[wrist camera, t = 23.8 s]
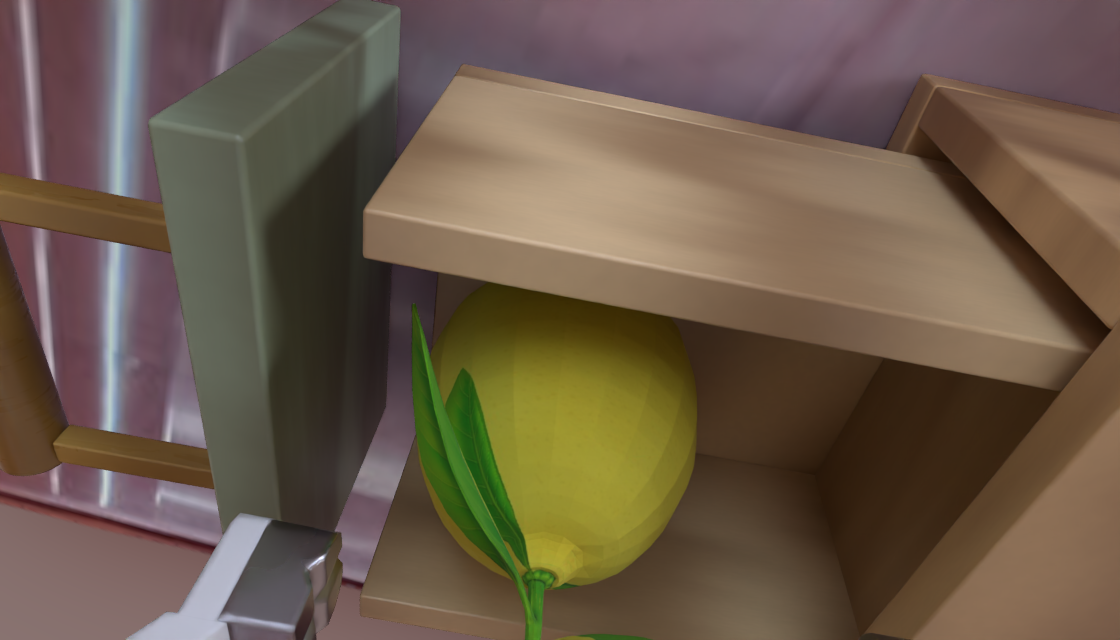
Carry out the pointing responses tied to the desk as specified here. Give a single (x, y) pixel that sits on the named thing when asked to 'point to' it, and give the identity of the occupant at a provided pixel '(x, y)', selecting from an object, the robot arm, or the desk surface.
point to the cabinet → (1074, 416)
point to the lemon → (553, 435)
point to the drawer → (587, 274)
